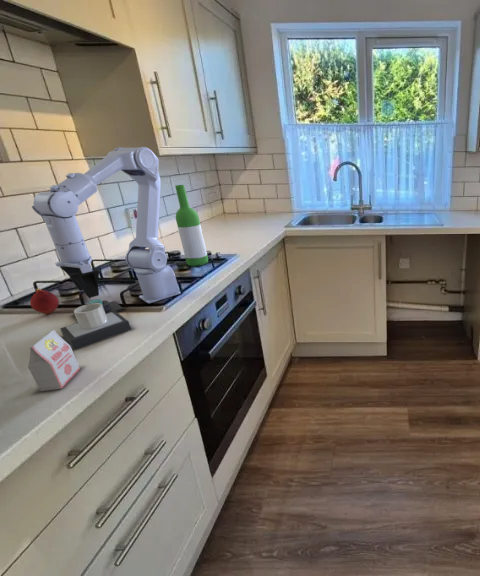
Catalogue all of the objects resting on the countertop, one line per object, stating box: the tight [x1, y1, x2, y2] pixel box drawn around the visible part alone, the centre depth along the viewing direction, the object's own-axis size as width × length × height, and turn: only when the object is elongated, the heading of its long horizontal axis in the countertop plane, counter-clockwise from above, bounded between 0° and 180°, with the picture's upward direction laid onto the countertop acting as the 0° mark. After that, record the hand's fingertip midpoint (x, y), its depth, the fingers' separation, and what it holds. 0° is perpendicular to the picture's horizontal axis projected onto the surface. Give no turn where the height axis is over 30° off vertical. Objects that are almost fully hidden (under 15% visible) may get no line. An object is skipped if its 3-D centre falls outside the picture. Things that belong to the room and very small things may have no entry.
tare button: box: [87, 298, 103, 305], centre depth 103 cm, size 3×3×2 cm
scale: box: [59, 311, 132, 350], centre depth 92 cm, size 12×10×3 cm
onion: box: [29, 288, 60, 315], centre depth 102 cm, size 6×6×8 cm
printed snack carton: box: [27, 329, 81, 392], centre depth 73 cm, size 4×7×10 cm, turn 12°
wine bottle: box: [174, 184, 209, 267], centre depth 136 cm, size 8×8×30 cm
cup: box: [73, 303, 108, 329], centre depth 91 cm, size 6×6×4 cm
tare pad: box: [72, 300, 125, 318], centre depth 103 cm, size 10×8×2 cm
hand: (88, 292), depth 94 cm, fingers open, 7 cm apart
